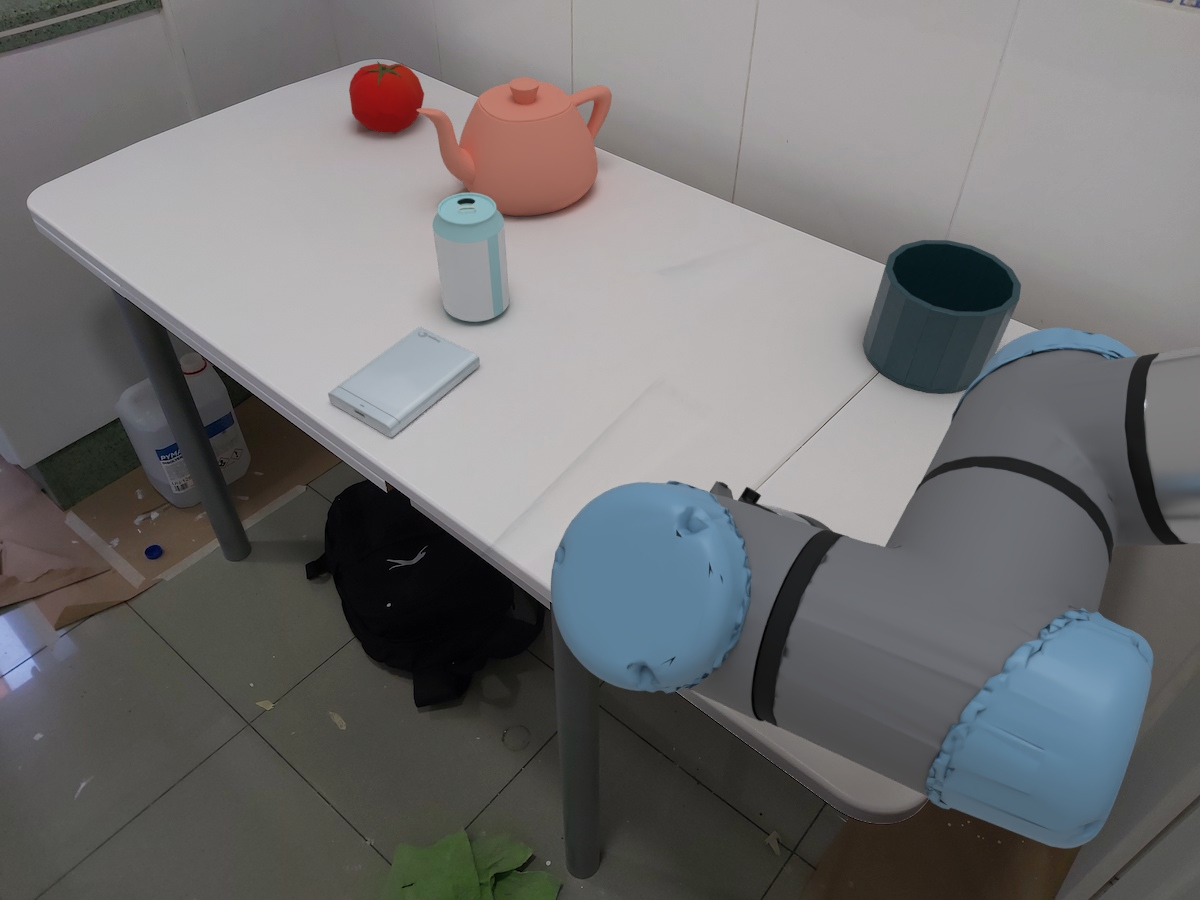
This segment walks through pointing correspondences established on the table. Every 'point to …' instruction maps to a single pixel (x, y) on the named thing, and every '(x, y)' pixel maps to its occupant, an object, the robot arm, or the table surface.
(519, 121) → the teapot
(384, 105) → the tomato
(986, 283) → the pot
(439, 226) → the can
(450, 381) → the hard drive
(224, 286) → the table surface
